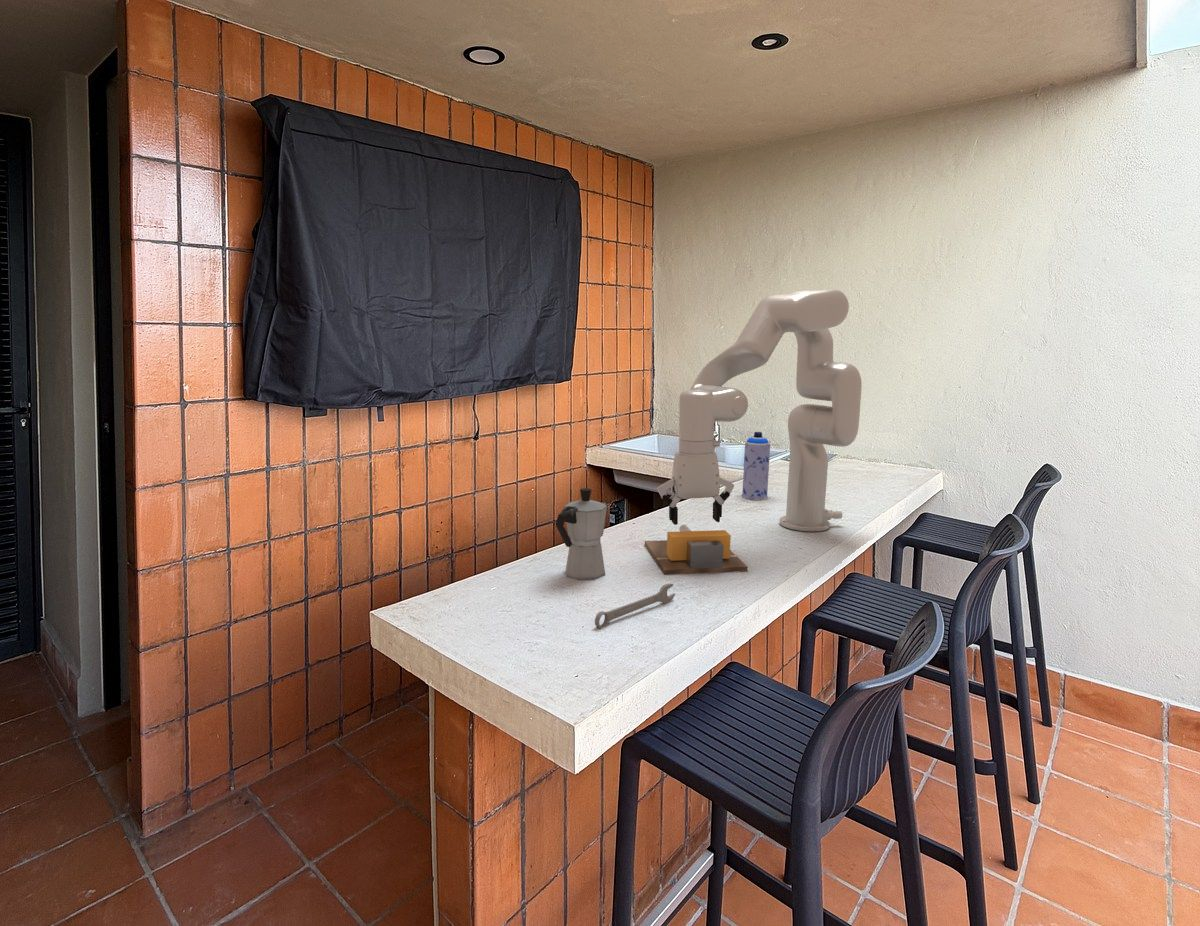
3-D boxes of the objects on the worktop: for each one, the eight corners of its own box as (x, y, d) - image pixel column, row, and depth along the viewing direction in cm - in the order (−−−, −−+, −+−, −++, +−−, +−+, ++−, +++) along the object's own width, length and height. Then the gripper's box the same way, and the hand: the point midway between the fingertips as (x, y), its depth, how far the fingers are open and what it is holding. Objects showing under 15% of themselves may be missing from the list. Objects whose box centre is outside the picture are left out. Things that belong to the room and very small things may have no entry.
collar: (723, 552, 155) (724, 530, 154) (729, 558, 151) (730, 535, 150) (666, 554, 153) (667, 531, 152) (671, 560, 149) (671, 537, 148)
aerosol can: (754, 493, 217) (758, 429, 213) (773, 498, 211) (777, 433, 207) (736, 496, 213) (739, 431, 209) (754, 501, 207) (758, 434, 203)
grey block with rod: (697, 540, 165) (698, 520, 164) (722, 567, 146) (723, 544, 145) (668, 541, 164) (669, 520, 163) (690, 568, 145) (690, 545, 144)
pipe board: (718, 542, 167) (718, 538, 166) (747, 571, 147) (747, 566, 147) (644, 545, 164) (644, 540, 164) (664, 574, 145) (664, 569, 144)
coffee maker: (588, 560, 153) (589, 480, 149) (620, 569, 147) (622, 486, 144) (541, 579, 141) (540, 492, 138) (573, 589, 136) (574, 499, 132)
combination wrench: (598, 613, 117) (678, 582, 130) (593, 610, 118) (673, 580, 131) (598, 633, 118) (678, 601, 131) (593, 631, 119) (673, 599, 132)
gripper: (728, 442, 157) (727, 514, 161) (653, 445, 155) (653, 519, 159) (740, 448, 150) (738, 524, 154) (661, 451, 148) (661, 529, 151)
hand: (695, 521), depth 156 cm, fingers open, 9 cm apart
